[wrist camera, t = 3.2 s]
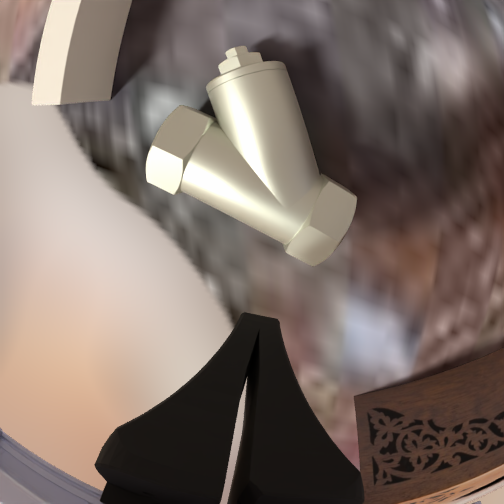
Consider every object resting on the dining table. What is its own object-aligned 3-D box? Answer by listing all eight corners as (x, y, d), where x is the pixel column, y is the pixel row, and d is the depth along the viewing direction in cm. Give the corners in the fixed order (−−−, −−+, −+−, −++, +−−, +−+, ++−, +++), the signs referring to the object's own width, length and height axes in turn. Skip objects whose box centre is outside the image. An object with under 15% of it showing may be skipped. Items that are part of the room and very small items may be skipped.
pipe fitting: (229, 49, 12) (168, 169, 14) (210, 22, 8) (133, 184, 11) (378, 128, 12) (310, 243, 15) (411, 129, 9) (318, 279, 11)
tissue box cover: (363, 457, 26) (365, 531, 17) (353, 393, 20) (361, 510, 12) (542, 388, 19) (566, 445, 10) (581, 301, 14) (627, 366, 5)
